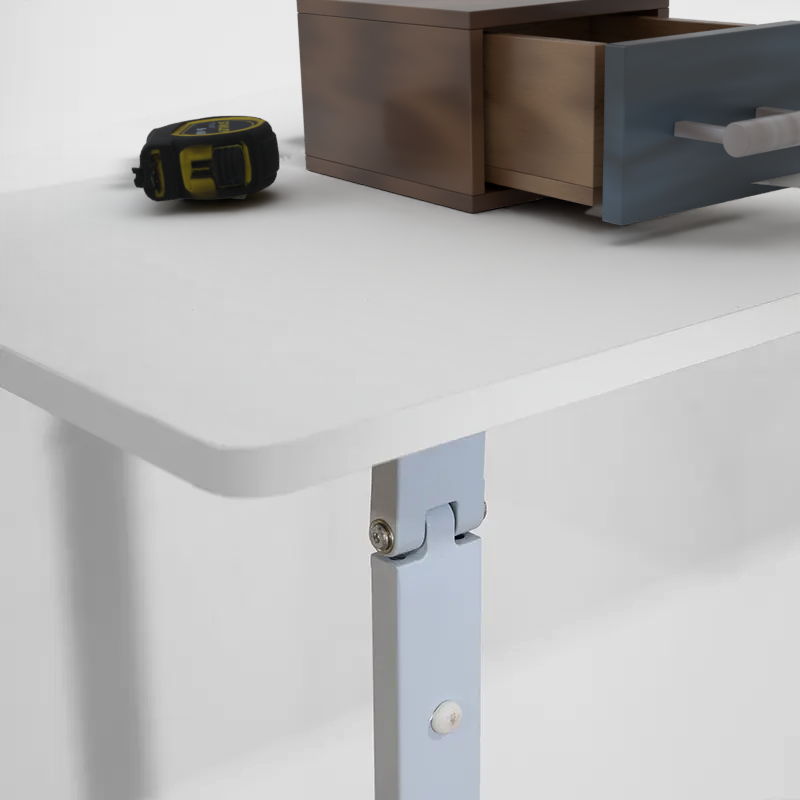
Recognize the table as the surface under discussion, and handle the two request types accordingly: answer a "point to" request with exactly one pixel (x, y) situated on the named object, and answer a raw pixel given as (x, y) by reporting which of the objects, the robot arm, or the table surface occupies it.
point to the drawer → (641, 111)
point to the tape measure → (208, 159)
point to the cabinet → (414, 90)
